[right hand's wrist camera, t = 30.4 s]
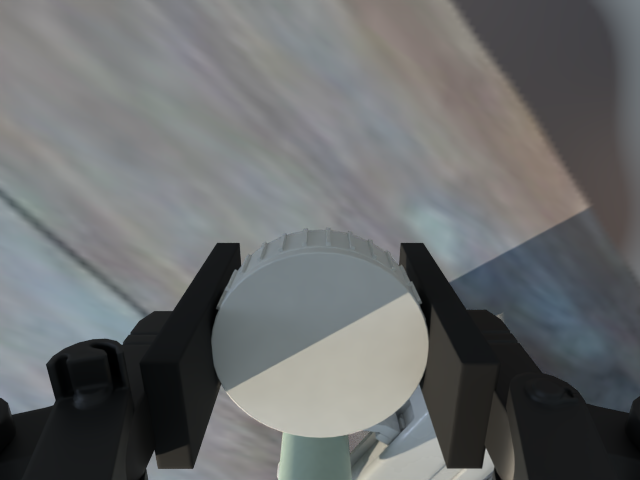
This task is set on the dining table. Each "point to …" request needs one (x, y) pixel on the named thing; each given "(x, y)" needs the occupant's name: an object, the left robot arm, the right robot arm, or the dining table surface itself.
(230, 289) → the lid
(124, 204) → the dining table surface
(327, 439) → the jar
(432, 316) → the right robot arm
